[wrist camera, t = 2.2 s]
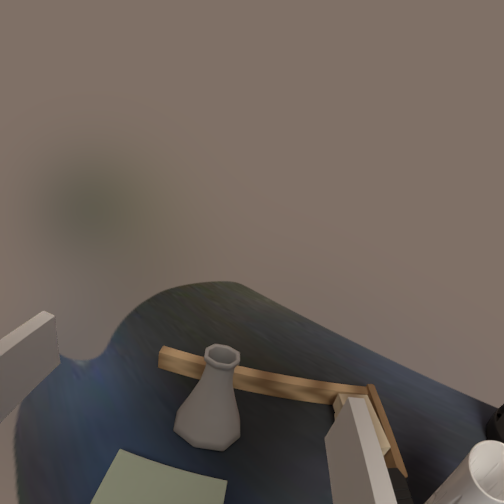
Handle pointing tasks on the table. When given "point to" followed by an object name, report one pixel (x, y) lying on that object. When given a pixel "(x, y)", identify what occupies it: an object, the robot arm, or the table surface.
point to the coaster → (155, 484)
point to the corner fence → (285, 390)
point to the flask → (212, 403)
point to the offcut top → (377, 426)
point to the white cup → (475, 478)
